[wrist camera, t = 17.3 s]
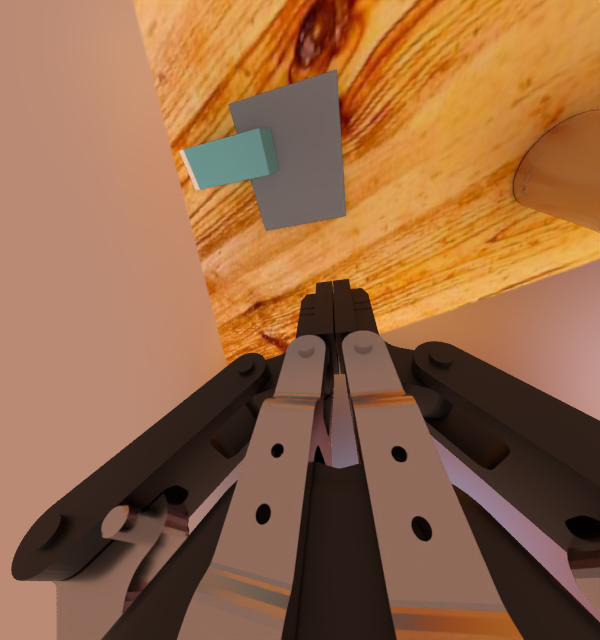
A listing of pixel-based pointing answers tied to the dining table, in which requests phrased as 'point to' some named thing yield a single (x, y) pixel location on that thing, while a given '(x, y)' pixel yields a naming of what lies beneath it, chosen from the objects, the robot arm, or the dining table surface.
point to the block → (231, 159)
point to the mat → (298, 151)
